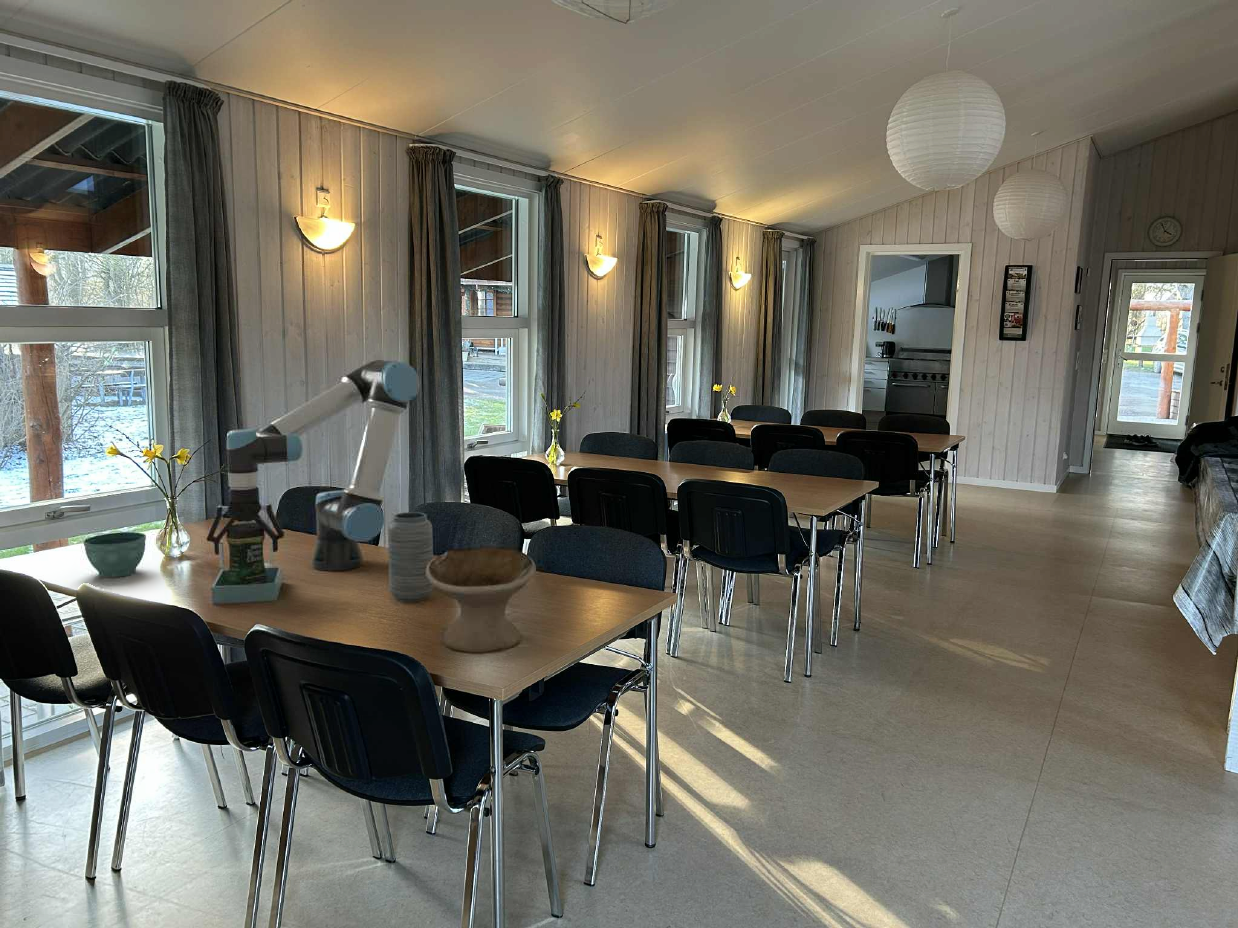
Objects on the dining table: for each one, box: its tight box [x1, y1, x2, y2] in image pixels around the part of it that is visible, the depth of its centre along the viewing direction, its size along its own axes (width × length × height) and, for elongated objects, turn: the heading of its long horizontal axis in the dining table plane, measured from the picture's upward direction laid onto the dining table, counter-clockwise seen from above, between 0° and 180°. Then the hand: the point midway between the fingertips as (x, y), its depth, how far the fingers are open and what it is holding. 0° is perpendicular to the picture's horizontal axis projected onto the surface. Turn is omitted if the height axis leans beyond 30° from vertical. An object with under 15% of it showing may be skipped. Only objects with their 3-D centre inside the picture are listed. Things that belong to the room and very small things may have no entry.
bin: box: [211, 566, 283, 605], centre depth 256 cm, size 16×18×5 cm
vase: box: [387, 511, 434, 604], centre depth 252 cm, size 12×12×23 cm
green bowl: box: [82, 531, 147, 579], centre depth 273 cm, size 16×16×11 cm
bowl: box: [426, 546, 537, 654], centre depth 219 cm, size 26×25×20 cm
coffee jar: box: [226, 521, 267, 586], centre depth 255 cm, size 10×8×19 cm
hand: (247, 564), depth 255 cm, fingers open, 12 cm apart
